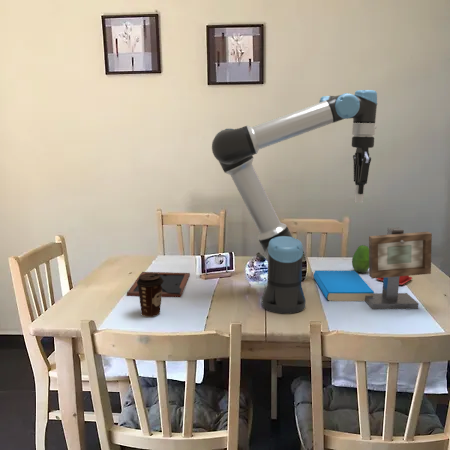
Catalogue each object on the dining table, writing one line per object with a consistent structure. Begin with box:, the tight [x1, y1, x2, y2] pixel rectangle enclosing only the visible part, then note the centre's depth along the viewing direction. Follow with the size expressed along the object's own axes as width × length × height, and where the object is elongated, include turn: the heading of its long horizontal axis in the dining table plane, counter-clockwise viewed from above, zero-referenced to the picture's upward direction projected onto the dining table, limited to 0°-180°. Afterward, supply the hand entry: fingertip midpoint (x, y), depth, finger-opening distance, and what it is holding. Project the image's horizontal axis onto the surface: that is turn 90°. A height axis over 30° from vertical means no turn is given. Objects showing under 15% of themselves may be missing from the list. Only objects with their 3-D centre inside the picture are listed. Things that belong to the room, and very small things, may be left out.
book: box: [313, 270, 375, 302], centre depth 182 cm, size 17×4×25 cm
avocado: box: [351, 244, 369, 274], centre depth 202 cm, size 8×8×12 cm
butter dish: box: [375, 276, 413, 286], centre depth 192 cm, size 12×12×8 cm
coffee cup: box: [137, 273, 163, 318], centre depth 157 cm, size 9×8×13 cm
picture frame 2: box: [368, 231, 433, 280], centre depth 160 cm, size 20×4×14 cm, turn 92°
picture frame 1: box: [126, 271, 191, 298], centre depth 185 cm, size 20×2×25 cm
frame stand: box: [364, 227, 420, 310], centre depth 165 cm, size 16×10×27 cm, turn 92°
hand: (358, 202), depth 171 cm, fingers closed
